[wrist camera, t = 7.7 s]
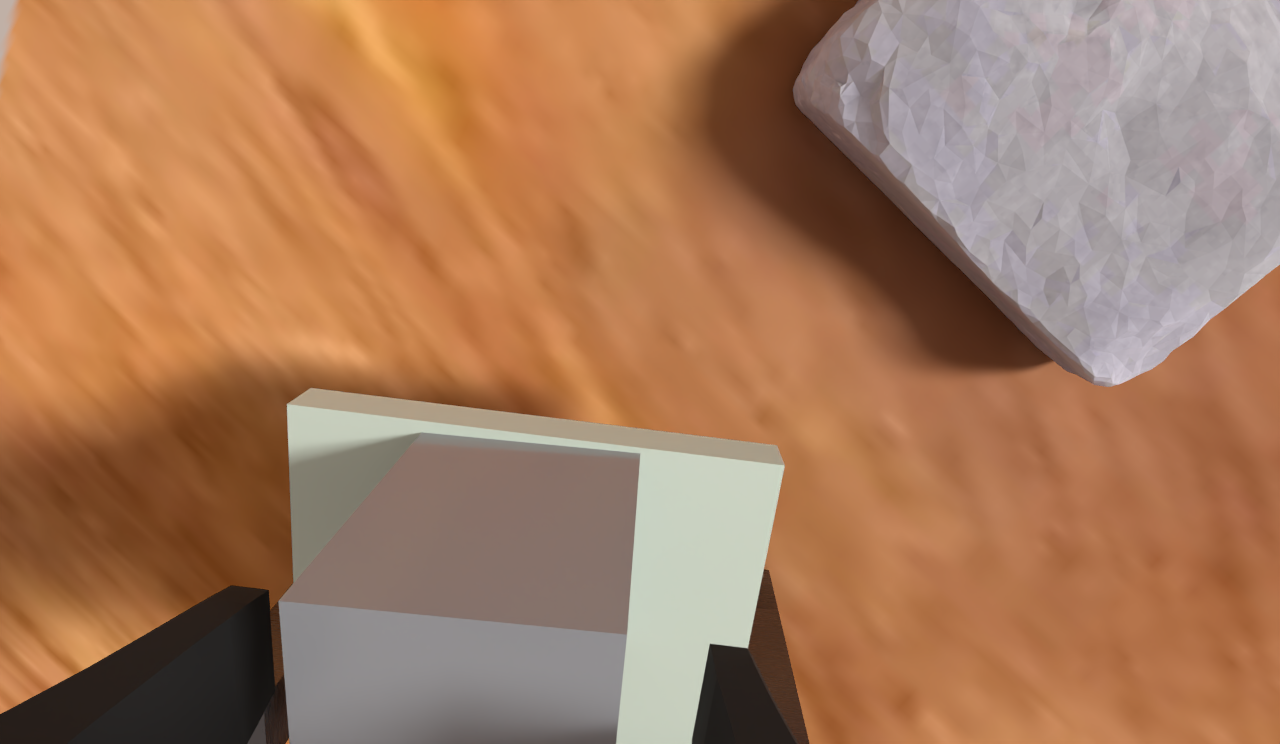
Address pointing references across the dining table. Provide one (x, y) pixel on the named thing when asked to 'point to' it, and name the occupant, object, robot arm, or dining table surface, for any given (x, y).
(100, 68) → the dining table surface
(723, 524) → the trapdoor
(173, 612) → the dining table surface
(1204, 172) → the stone block
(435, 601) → the grey rectangular block
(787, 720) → the frame
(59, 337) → the dining table surface
